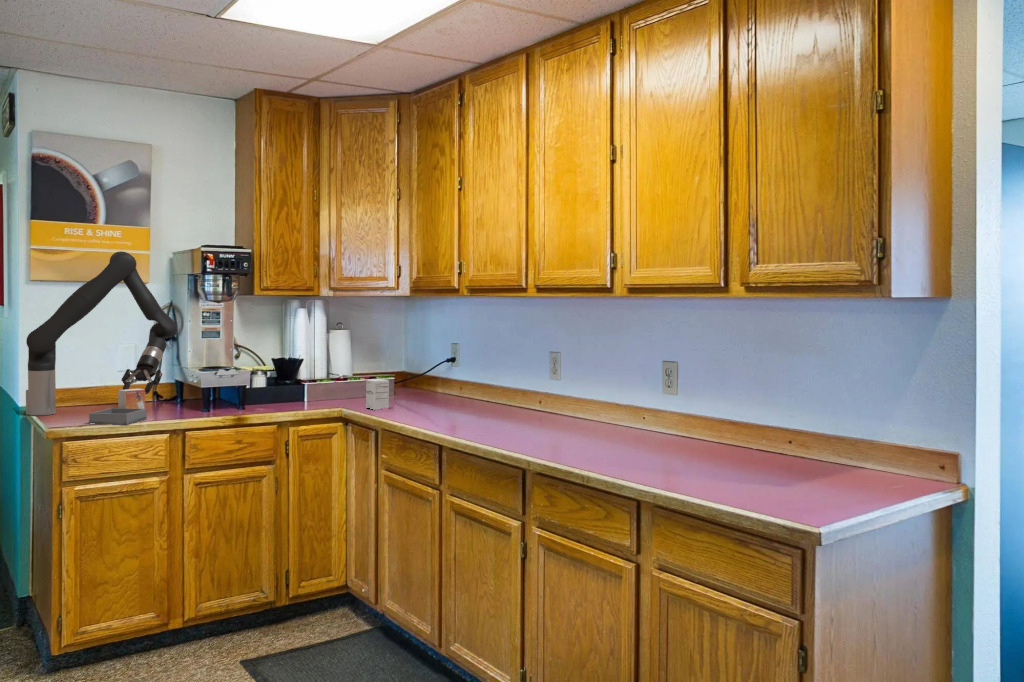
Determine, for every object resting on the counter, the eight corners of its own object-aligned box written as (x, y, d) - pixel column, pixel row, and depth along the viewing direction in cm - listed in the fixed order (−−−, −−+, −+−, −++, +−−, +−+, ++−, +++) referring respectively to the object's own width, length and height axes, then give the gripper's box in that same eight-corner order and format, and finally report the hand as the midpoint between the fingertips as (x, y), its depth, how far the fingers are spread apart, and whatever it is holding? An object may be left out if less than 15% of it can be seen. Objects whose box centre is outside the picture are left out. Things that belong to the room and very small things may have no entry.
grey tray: (89, 424, 291) (89, 413, 291) (110, 418, 305) (110, 407, 305) (126, 425, 291) (126, 414, 290) (146, 419, 304) (146, 408, 304)
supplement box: (365, 408, 341) (365, 379, 340) (381, 407, 346) (381, 378, 345) (373, 411, 335) (373, 380, 335) (389, 409, 340) (389, 380, 339)
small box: (125, 418, 306) (125, 390, 306) (118, 416, 310) (117, 389, 309) (145, 416, 312) (145, 389, 312) (138, 414, 316) (138, 388, 315)
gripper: (129, 353, 322) (113, 385, 311) (164, 354, 321) (149, 386, 310) (136, 365, 327) (121, 397, 316) (170, 366, 326) (156, 398, 316)
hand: (135, 391), depth 313 cm, fingers open, 8 cm apart
